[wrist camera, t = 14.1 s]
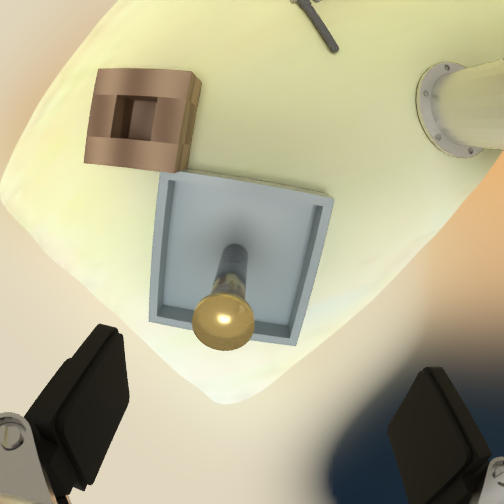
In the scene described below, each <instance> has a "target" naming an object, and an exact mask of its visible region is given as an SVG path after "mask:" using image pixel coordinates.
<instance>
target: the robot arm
mask: <svg viewBox="0 0 504 504" xmlns="http://www.w3.org/2000/svg"><path fill="white" fill-rule="evenodd" d="M423 94H424V95H423ZM416 104H417V110H418V115H419V119H420V122H421V124H422V126H423V129H424V131H425V133H426V134H427V136H428V137H429V139H430V140H431V141H432V142H433V143H434V145H435V146H436V147H438V148H439V149H440V150H441V151H442V152H444V153H446V154H448V155H451V156H454V157H460V158H468V157H472V156H475V155H477V154H478V153H480V152H481V151H482V150H483V149H484V148H490V149H499V150H504V59H503V60H498V61H494V62H490V63H486V64H482V65H478V66H474V67H470V68H466V67H464V66H462V65H460V64H457V63H453V62H442V63H439V64H436V65H434V66H432V67H430V68H429V69H428V70H427V71H426V72H425V73H424V74H423V76H422V77H421V79H420V82H419V85H418V89H417V98H416ZM128 403H129V387H128V379H127V371H126V362H125V352H124V341H123V335H122V334H120V333H118V329H117V328H115V327H111V326H107V325H103V324H98V325H97V326H96V327H95V329H94V330H93V331H92V332H91V334H90V335H89V336H88V337H87V339H86V340H85V341H84V342H83V344H82V345H81V346H80V348H79V349H78V350H77V352H76V353H75V354H74V355H73V357H72V358H69V359H67V360H66V361H65V362H64V363H63V364H62V366H61V367H60V368H59V370H58V371H57V372H56V374H55V375H54V376H53V377H52V379H51V380H50V382H49V383H48V384H47V386H46V387H45V388H44V389H43V391H42V392H41V394H40V395H39V396H38V398H37V399H36V400H35V402H34V403H33V405H32V406H31V407H30V409H29V410H28V412H27V413H26V414H25V416H24V417H22V416H20V415H19V414H15V413H12V412H11V413H10V412H7V413H1V414H0V504H71V502H70V499H69V496H68V495H69V494H70V492H71V490H72V488H73V487H75V488H77V489H80V490H82V491H85V488H86V486H87V484H88V485H92V484H93V483H94V481H95V478H96V476H97V474H98V471H99V469H100V467H101V464H102V462H103V460H104V457H105V455H106V453H107V450H108V448H109V446H110V444H111V441H112V439H113V437H114V434H115V432H116V430H117V428H118V426H119V423H120V421H121V419H122V417H123V415H124V412H125V410H126V408H127V406H128ZM388 436H389V439H390V442H391V445H392V448H393V451H394V455H395V458H396V461H397V464H398V468H399V471H400V474H401V477H402V481H403V484H404V488H405V491H406V495H407V498H408V502H409V504H504V457H497V458H495V459H493V460H492V461H491V462H490V463H489V461H488V458H490V456H491V455H492V452H491V451H490V449H489V447H488V445H487V443H486V441H485V439H484V437H483V436H482V434H481V432H480V430H479V429H478V427H477V425H476V423H475V421H474V420H473V418H472V416H471V414H470V412H469V411H468V409H467V407H466V406H465V404H464V402H463V400H462V399H461V397H460V396H459V394H458V392H457V390H456V389H455V387H454V386H453V384H452V382H451V381H450V379H449V377H448V376H447V374H446V373H445V371H444V369H443V368H442V367H426V368H424V369H423V370H422V371H420V372H419V373H418V375H417V377H416V379H415V381H414V382H413V384H412V386H411V388H410V390H409V392H408V393H407V395H406V397H405V399H404V400H403V402H402V404H401V406H400V407H399V409H398V411H397V412H396V414H395V415H394V417H393V419H392V420H391V422H390V424H389V426H388Z"/></svg>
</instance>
